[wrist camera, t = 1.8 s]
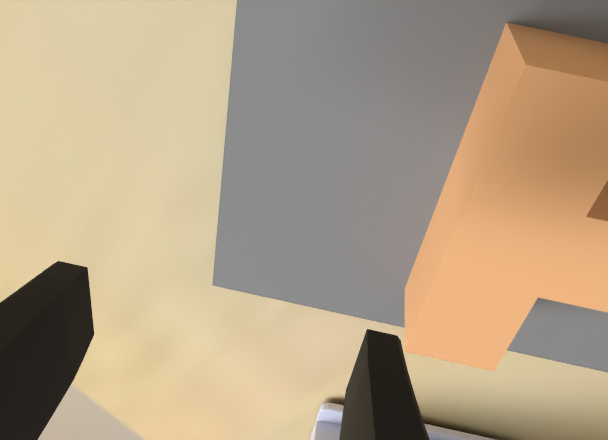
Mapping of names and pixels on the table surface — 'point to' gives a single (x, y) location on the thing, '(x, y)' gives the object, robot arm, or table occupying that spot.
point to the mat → (367, 150)
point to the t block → (518, 202)
